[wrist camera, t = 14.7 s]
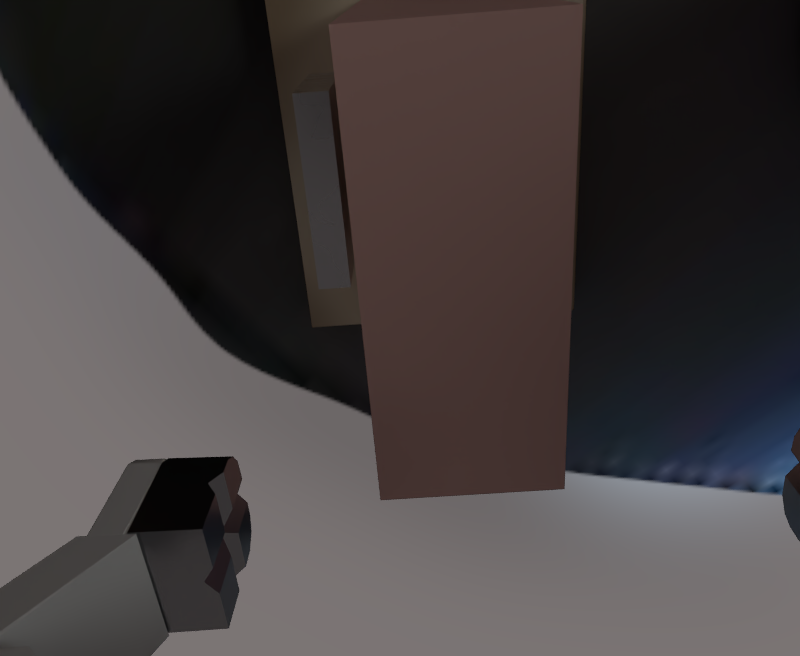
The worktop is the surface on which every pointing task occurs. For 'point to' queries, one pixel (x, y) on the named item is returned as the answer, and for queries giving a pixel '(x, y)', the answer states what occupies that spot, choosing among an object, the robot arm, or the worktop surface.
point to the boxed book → (463, 234)
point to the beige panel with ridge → (294, 60)
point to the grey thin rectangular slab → (324, 179)
